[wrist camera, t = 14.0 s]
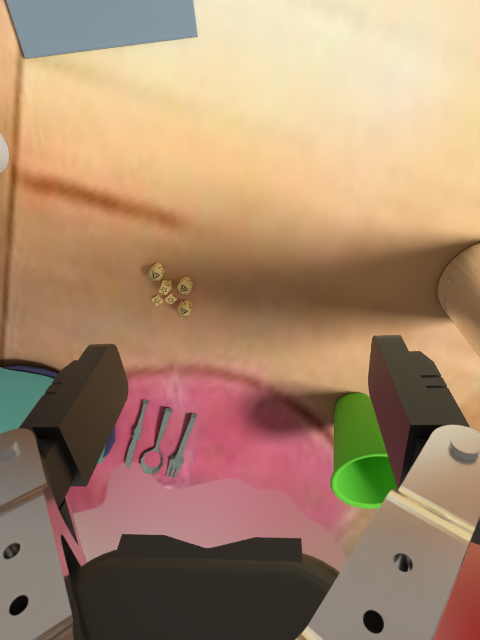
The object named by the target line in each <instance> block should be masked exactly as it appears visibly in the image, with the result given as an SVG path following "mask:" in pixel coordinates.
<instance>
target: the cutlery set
mask: <svg viewBox="0 0 480 640" xmlns="http://www.w3.org/2000/svg"><path fill="white" fill-rule="evenodd" d="M58 374H59V373H56V372H54V371H51V370H48V369H45V368H38V367H31V366H24V365H15V366H5V367H0V434H1V433H3V432H6V431H9V430H13V429H18V428H19V427H20V425H21V424H22V423H23V421H24V420H25V419H26V417H27V416H28V415H29V413H30V412H31V410H32V409H33V408H34V406H35V405H36V404H37V402H38V401H39V400H40V398H41V397H42V395H45V391H46V390H47V389H48V387H49V386H50V385H52V382H53V380H54V379H55V378H56V376H57V375H58ZM148 402H149V400H145V399H144V400H143V408H142V412H141V415H140V418H139V421H138V425H137V426H136V427H135V429H134V432H133V435H132V438H133V439H132V441H131V443H130V446H129V450H128V453H127V457H126V462H125V463H126V466H127V467H128V468H130V465H131V461H132V457H133V454H134V450H135V447H136V443H137V439H140V437H141V431H142V426H141V425H142V421H143V416H144V412H145V409H146V406H147V404H148ZM171 413H172V409H169V408H166V409H165V414H164V417H163V421H162V424H161V428H160V432H159V435H158V439H157V443H156V446H155V448H153V449H152V450H150V451H157V452H159V453H160V451H159V449H158V447H159V444H160V441H161V439H162V436H163V433H164V431H165V428H166V425H167V423H168V420H169V417H170V414H171ZM196 415H197V414H193V413H192V415H191V418H190V420H189V423H188V425H187V428H186V431H185V433H184V436H183V438H182V441H181V444H180V447H179V449H178V452H176V455H171V458H170V462H169V466H168V470H167V474H166V476H168V474H169V472H170V470H171V468H172V470H171V474H170V477H172V474H173V472H174V470H175V468H176V471H175V474H174V478H175V477H176V475H177V473H178V471H179V469H180V467H181V466H182V464H183V463H184V458H183V457H182V453H183V450H184V447H185V444H186V442H187V439H188V437H189V434H190V432H191V429H192V427H193V424H194V421H195V419H196ZM114 442H115V426H114V428H113V430H112V432H111V435H110V437H109V439H108V441H107V443H106V445H105V448H104V450H103V452H102V454H101V456H100V458H99V461H98V463H102V460H103V457H105V456H106V455H107V454H109V452H110V450H111V448H112V446H113V444H114ZM150 451H147V452H146V453H148V452H150ZM146 453H145V454H144V456H145V455H146ZM160 454H161V453H160ZM144 456H143V457H142V459H141V468H142V469H143V470H144V472H145V473H148V474H153V473H156V472H158V471H159V470H160V468H161V467H162V466H163V455H162V454H161V456H162V462H161V463H160V465H159V466H157V467H155V468H150V467H147V465H146V464H145V462H144ZM98 463H97V464H98ZM172 466H173V467H172Z"/></svg>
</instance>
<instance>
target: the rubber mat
mask: <svg viewBox="0 0 480 640" xmlns="http://www.w3.org/2000/svg"><path fill="white" fill-rule="evenodd" d="M6 1H7V4H8V7H9V10H10V13H11V16H12V19H13V23H14V26H15V29H16V32H17V35H18V38H19V41H20V44H21V47H22V50H23V53H24V56H25V58H27V59H28V58H36V57H44V56H51V55H59V54H67V53H75V52H83V51H90V50H98V49H106V48H114V47H121V46H129V45H137V44H145V43H153V42H160V41H168V40H176V39H184V38H191V37H198V35H197V27H196V19H195V11H194V3H193V0H6Z"/></svg>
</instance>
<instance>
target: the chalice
mask: <svg viewBox="0 0 480 640" xmlns="http://www.w3.org/2000/svg"><path fill="white" fill-rule="evenodd" d="M8 161H9V152H8V147H7V145H6V142H5V139H4V138H3V136H2V135H1V133H0V173H2V172H3V171H4V170H5V168H6V167H7V164H8Z"/></svg>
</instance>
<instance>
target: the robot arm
mask: <svg viewBox="0 0 480 640" xmlns="http://www.w3.org/2000/svg"><path fill="white" fill-rule="evenodd" d="M438 298H439V302H440V304H441V306H442V308H443V309H444V310H445V312H446V313H447V314H448V316H449V317H450V318H451V320H452V321H453V322H454V324H455V325H456V326H457V328H458V329H459V331H460V332H461V333H462V335H463V336H464V337H465V339H466V340H467V341H468V343H469V344H470V345H471V347H472V348H473V349H474V351H475V352H476V353H477V355H478V356H479V357H480V243H478V244H476V245H473V246H471V247H469V248H468V249H466V250H464V251H463V252H461V253H460V254H459V255H458V256H456V257H455V258H454V259H453V260H452V261H451V262H450V263H449V265H448V266H447V267H446V268H445V270H444V272H443V274H442V275H441V278H440V281H439V284H438ZM368 386H369V394H370V398H371V401H372V405H373V408H374V411H375V415H376V418H377V421H378V425H379V428H380V432H381V435H382V438H383V442H384V445H385V448H386V452H387V455H388V458H389V462H390V465H391V468H392V472H393V475H394V479H395V482H396V485H397V489H398V490H396V489H392V490H391V491H390V492H389V494H388V495H387V497H386V498H385V500H384V501H383V503H382V505H381V506H380V508H379V510H378V511H377V513H376V514H375V516H374V518H373V519H372V521H371V523H370V524H369V526H368V528H367V529H366V531H365V532H364V534H363V536H362V537H361V539H360V541H359V542H358V544H357V546H356V547H355V549H354V551H353V552H352V554H351V555H350V557H349V559H348V560H347V562H346V564H345V565H344V567H343V569H342V570H341V572H339V571H337V570H336V569H335V568H333V567H332V566H330V565H328V564H327V563H325V562H323V561H321V560H319V559H317V558H314V557H312V556H309V555H306V554H303V553H302V547H301V546H302V545H301V538H259V537H255V538H251V539H247V540H242V541H239V542H235V543H230V544H226V545H222V546H218V547H214V548H203V547H200V546H197V545H194V544H190V543H187V542H184V541H181V540H178V539H175V538H172V537H168V536H165V535H133V534H122V536H121V539H120V542H119V545H118V548H117V550H114V551H111V552H108V553H105V554H103V555H101V556H99V557H96V558H94V559H92V560H91V561H89V562H87V560H86V557H85V555H84V552H83V548H82V545H81V542H80V538H79V535H78V531H77V528H76V524H75V521H74V518H73V514H72V511H71V507H70V504H69V501H68V499H67V497H66V494H67V492H68V490H69V488H70V486H87V484H88V482H89V480H90V478H91V476H92V474H93V471H94V469H95V467H96V465H97V463H98V461H99V458H100V456H101V454H102V452H103V450H104V448H105V445H106V443H107V441H108V439H109V437H110V435H111V432H112V430H113V428H114V426H115V424H116V422H117V419H118V417H119V415H120V413H121V411H122V409H123V406H124V404H125V402H126V400H127V396H128V381H127V378H126V374H125V371H124V368H123V365H122V361H121V358H120V355H119V352H118V349H117V347H116V346H115V345H114V344H94V345H89V346H88V347H87V348H86V350H85V351H84V352H83V354H82V355H81V357H80V358H79V360H74V361H73V362H71V363H70V364H69V365H68V366H66V367H65V368H64V369H62V370H61V371H60V372H59V374H58V375H57V376H56V378H55V379H54V380H53V382H52V385H50V386H49V387H48V389H47V390H46V391H45V395H42V397H41V398H40V400H39V401H38V402H37V404H36V405H35V406H34V408H33V409H32V410H31V412H30V413H29V415H28V416H27V417H26V419H25V420H24V421H23V423H22V424H21V425H20V427H19V428H18V429H13V430H9V431H6V432H3V433H1V434H0V640H433V638H434V635H435V633H436V630H437V628H438V625H439V622H440V620H441V617H442V615H443V612H444V609H445V607H446V604H447V601H448V599H449V597H450V594H451V591H452V589H453V586H454V584H455V581H456V579H457V576H458V573H459V571H460V568H461V566H462V563H463V560H464V558H465V555H466V553H467V550H468V548H469V545H470V543H471V542H473V543H476V544H479V545H480V432H479V431H476V430H474V429H472V428H470V426H469V425H468V423H467V421H466V419H465V417H464V416H463V414H462V412H461V410H460V408H459V407H458V405H457V403H456V401H455V399H454V398H453V396H452V394H451V392H450V390H449V389H448V388H447V385H446V383H445V381H444V380H443V378H442V377H441V374H440V373H439V371H438V369H437V367H436V365H435V364H434V362H433V361H432V360H430V359H429V358H428V357H427V356H425V355H424V354H423V353H422V352H420V351H412V352H409V351H408V349H407V347H406V345H405V343H404V341H403V339H402V337H401V336H400V335H383V336H373V338H372V344H371V354H370V364H369V374H368Z"/></svg>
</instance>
